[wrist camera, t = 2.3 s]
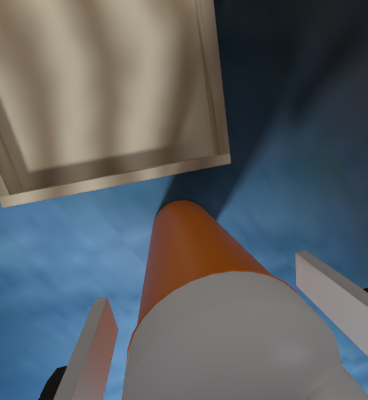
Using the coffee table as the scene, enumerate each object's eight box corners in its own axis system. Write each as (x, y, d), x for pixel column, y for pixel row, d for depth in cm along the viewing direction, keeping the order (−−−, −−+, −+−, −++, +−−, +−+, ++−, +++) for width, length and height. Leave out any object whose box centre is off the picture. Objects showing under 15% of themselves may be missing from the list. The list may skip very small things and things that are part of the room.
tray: (23, 199, 21) (2, 207, 18) (-63, -9, 16) (-111, -44, 13) (221, 161, 23) (230, 163, 20) (197, -35, 18) (205, -70, 15)
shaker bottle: (138, 198, 23) (43, 472, 3) (213, 186, 24) (468, 350, 4) (151, 265, 25) (139, 649, 6) (219, 252, 26) (402, 548, 7)
